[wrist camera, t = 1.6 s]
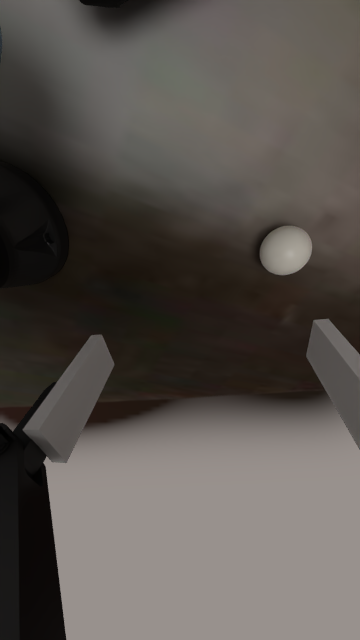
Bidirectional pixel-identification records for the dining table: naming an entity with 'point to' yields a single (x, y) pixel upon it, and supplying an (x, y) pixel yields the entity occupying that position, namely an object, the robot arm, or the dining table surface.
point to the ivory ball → (285, 250)
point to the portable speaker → (104, 3)
